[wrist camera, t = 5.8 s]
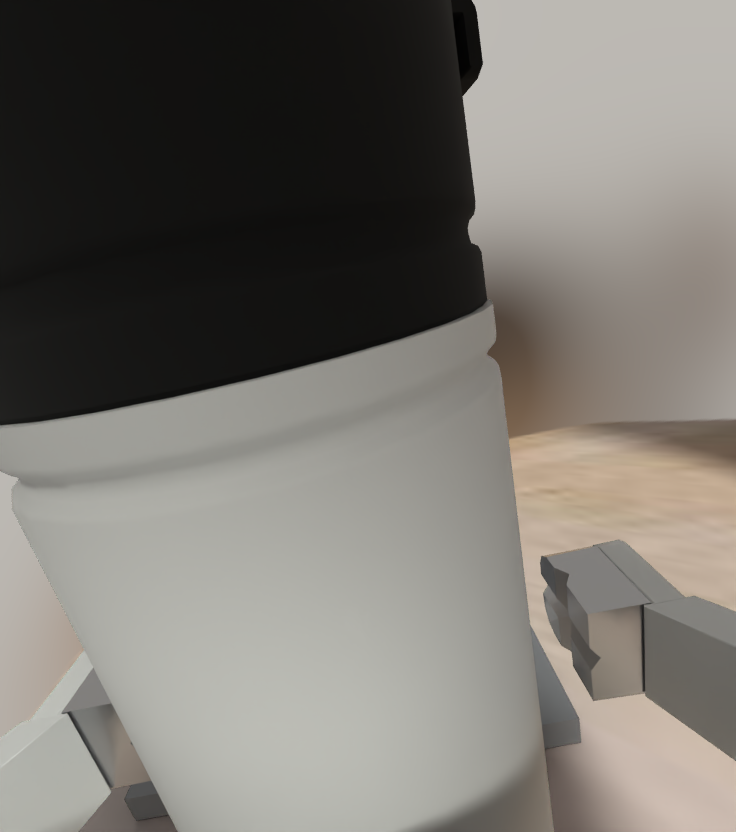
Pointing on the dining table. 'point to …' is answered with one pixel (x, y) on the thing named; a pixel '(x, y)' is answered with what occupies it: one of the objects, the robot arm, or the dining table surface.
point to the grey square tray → (555, 720)
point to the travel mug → (269, 406)
